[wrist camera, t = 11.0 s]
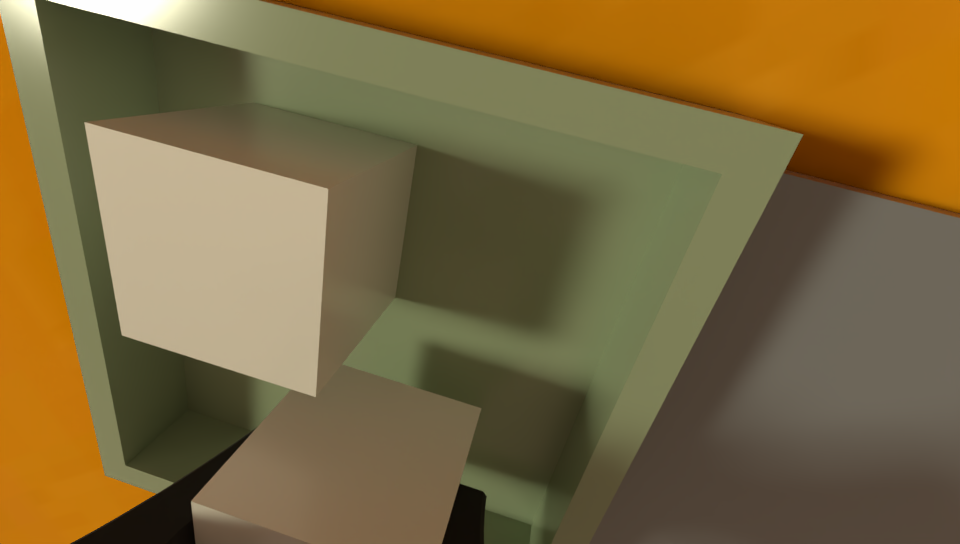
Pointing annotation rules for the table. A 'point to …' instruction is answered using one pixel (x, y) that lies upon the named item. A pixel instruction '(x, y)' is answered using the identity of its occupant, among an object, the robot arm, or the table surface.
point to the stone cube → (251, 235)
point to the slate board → (814, 386)
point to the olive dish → (419, 235)
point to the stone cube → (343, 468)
